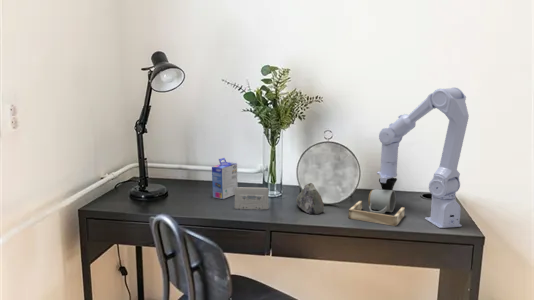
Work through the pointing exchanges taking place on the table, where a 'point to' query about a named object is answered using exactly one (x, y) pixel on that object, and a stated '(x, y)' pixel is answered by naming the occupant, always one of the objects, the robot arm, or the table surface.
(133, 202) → the table surface
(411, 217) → the table surface
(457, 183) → the robot arm
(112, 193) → the table surface
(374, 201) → the ceramic mug
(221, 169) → the ink cartridge box
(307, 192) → the mineral rock
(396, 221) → the bracket
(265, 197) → the cassette
